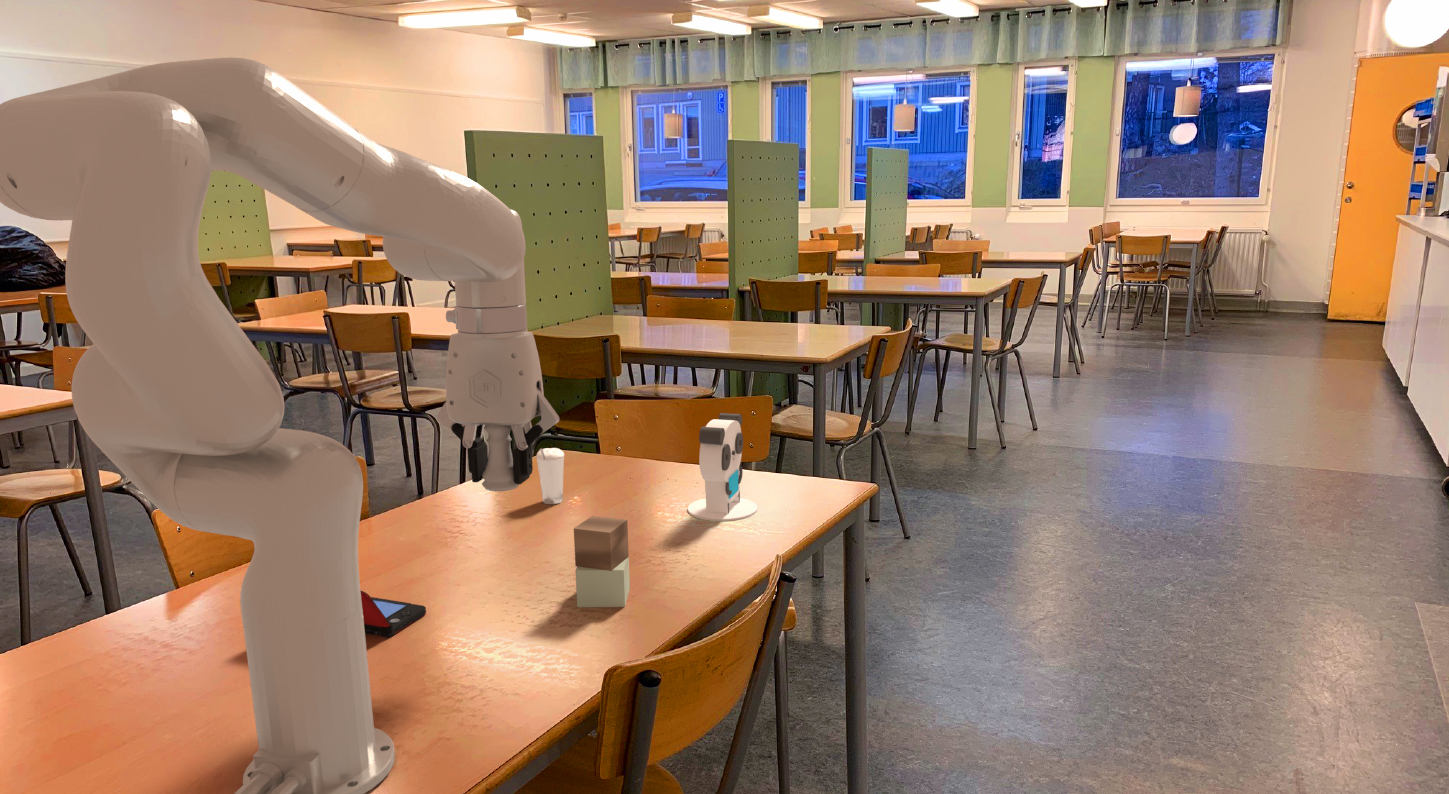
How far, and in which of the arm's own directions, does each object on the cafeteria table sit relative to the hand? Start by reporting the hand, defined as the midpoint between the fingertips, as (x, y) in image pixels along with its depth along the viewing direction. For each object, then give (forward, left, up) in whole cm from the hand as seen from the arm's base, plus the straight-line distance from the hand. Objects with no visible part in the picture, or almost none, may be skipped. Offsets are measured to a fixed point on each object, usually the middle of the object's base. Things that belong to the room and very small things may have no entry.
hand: (501, 478), depth 111 cm
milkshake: (+47, +12, -19) cm, 52 cm away
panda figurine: (+47, -17, -19) cm, 54 cm away
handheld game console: (-1, +19, -19) cm, 27 cm away
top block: (+11, -8, -14) cm, 20 cm away
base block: (+11, -8, -19) cm, 24 cm away
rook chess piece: (0, 0, -1) cm, 1 cm away
